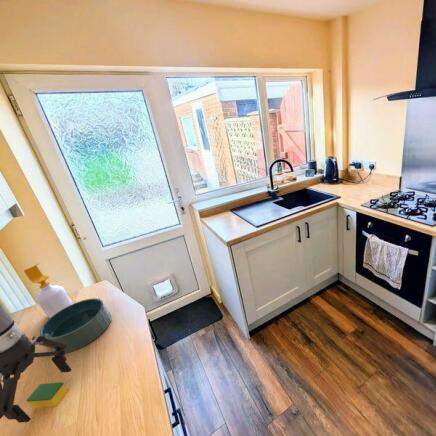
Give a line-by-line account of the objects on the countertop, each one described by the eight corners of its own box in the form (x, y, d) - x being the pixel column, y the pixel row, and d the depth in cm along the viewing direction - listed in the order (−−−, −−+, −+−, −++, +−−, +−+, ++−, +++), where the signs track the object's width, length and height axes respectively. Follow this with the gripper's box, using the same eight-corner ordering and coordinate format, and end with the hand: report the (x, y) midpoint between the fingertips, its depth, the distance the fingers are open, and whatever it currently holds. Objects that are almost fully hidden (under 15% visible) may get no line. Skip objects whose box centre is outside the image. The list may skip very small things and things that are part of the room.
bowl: (36, 356, 88) (23, 341, 85) (78, 314, 106) (69, 300, 102) (88, 352, 87) (78, 336, 84) (121, 310, 105) (114, 296, 102)
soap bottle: (56, 320, 104) (24, 273, 93) (43, 316, 107) (11, 270, 96) (79, 305, 111) (51, 260, 101) (66, 302, 114) (38, 258, 104)
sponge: (33, 408, 72) (25, 400, 70) (47, 391, 76) (40, 383, 74) (56, 406, 71) (49, 398, 70) (69, 390, 75) (62, 382, 74)
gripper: (-41, 394, 52) (17, 446, 61) (59, 306, 75) (90, 353, 83) (-74, 397, 52) (-12, 448, 61) (35, 309, 75) (69, 355, 84)
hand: (47, 393), depth 72 cm, fingers open, 13 cm apart
